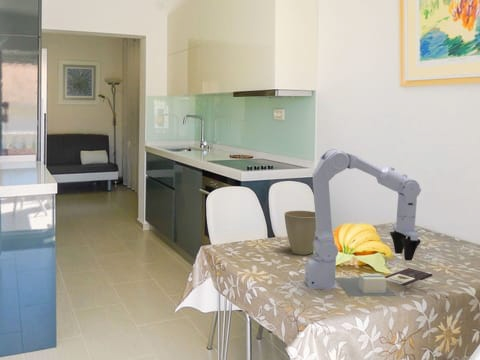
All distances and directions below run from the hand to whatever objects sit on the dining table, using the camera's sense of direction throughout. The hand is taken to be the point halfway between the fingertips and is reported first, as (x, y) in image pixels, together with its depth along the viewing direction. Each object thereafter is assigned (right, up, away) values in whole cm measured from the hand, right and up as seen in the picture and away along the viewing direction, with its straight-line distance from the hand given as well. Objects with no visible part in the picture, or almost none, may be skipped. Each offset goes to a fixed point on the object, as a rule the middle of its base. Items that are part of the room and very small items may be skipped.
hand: (403, 256), depth 159 cm
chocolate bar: (+4, -9, +9) cm, 14 cm away
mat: (-13, -10, -2) cm, 17 cm away
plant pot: (-28, -5, +39) cm, 48 cm away
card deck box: (-12, -10, -5) cm, 16 cm away
